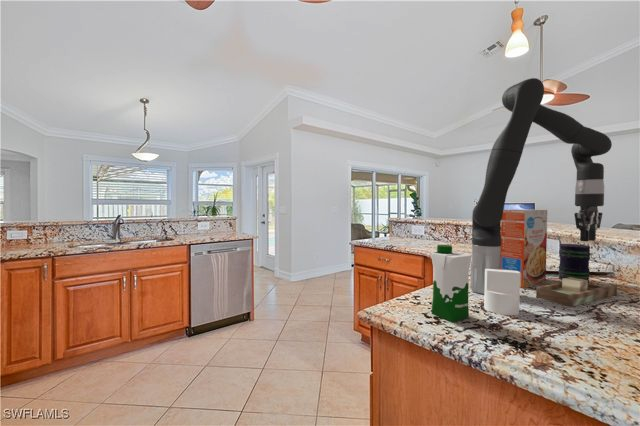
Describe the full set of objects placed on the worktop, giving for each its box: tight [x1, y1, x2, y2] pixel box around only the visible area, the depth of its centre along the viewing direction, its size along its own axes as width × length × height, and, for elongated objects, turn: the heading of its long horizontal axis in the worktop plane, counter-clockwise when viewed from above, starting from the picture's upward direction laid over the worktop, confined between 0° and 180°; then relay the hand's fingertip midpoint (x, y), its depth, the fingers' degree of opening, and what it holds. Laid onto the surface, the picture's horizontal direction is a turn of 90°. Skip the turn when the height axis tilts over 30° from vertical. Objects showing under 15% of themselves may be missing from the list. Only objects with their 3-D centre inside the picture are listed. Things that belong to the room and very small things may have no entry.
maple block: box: [561, 277, 589, 293], centre depth 99 cm, size 5×5×4 cm
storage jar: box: [558, 243, 591, 283], centre depth 120 cm, size 10×10×15 cm
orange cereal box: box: [501, 209, 548, 290], centre depth 118 cm, size 23×8×30 cm, turn 124°
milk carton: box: [430, 244, 472, 323], centre depth 81 cm, size 9×9×20 cm
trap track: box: [535, 278, 618, 308], centre depth 99 cm, size 30×10×4 cm, turn 114°
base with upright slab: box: [483, 269, 521, 316], centre depth 86 cm, size 9×9×12 cm
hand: (587, 240), depth 102 cm, fingers open, 4 cm apart
